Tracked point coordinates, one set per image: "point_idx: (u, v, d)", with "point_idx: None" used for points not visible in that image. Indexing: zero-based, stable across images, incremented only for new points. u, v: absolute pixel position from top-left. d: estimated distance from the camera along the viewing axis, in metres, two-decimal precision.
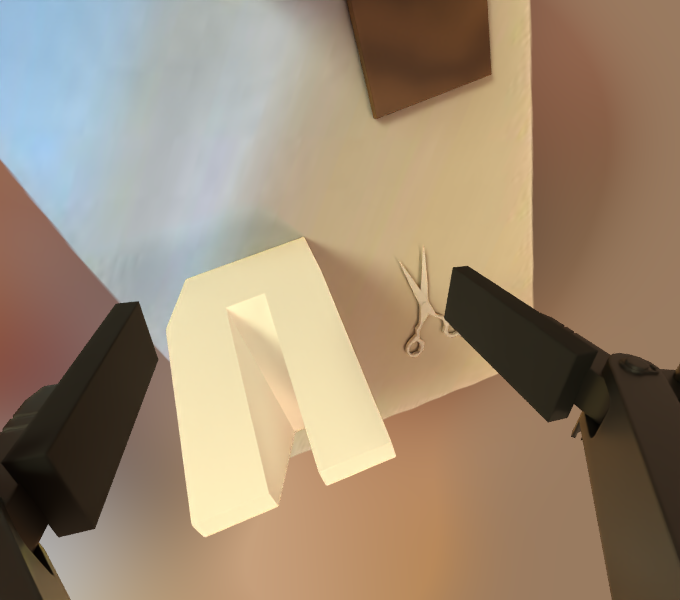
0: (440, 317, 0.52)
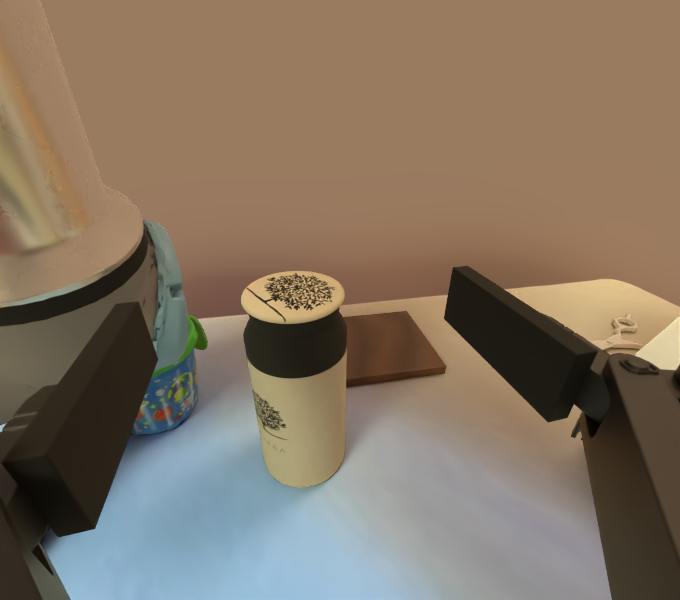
0: (618, 330, 0.50)
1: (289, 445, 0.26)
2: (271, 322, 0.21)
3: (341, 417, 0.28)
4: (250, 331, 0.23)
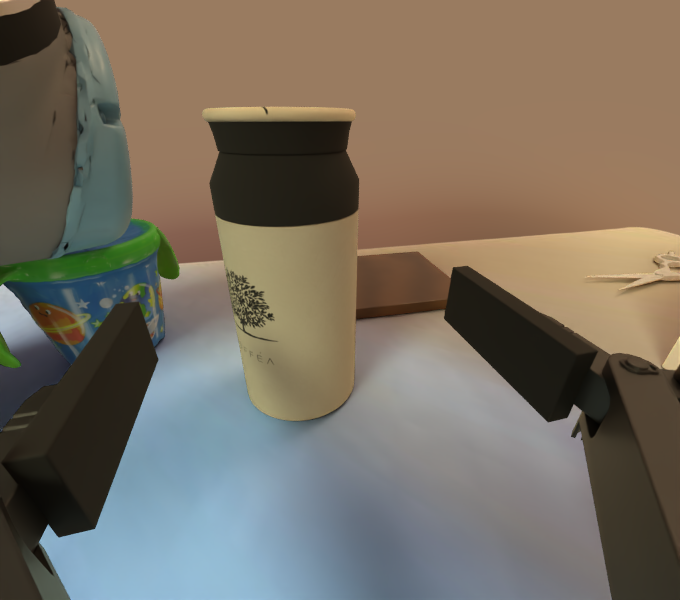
0: (665, 264, 0.43)
1: (279, 351, 0.19)
2: (245, 120, 0.14)
3: (351, 319, 0.20)
4: (218, 164, 0.16)
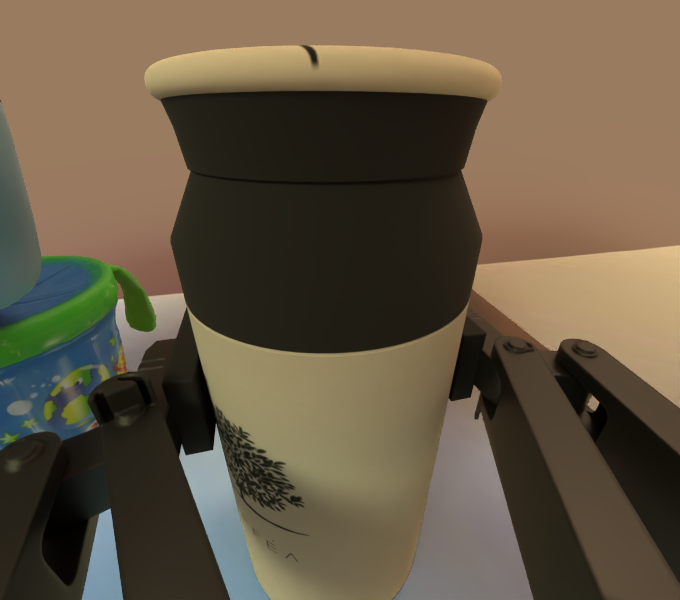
0: None
1: (309, 547, 0.10)
2: (250, 87, 0.05)
3: (434, 461, 0.11)
4: (186, 200, 0.07)
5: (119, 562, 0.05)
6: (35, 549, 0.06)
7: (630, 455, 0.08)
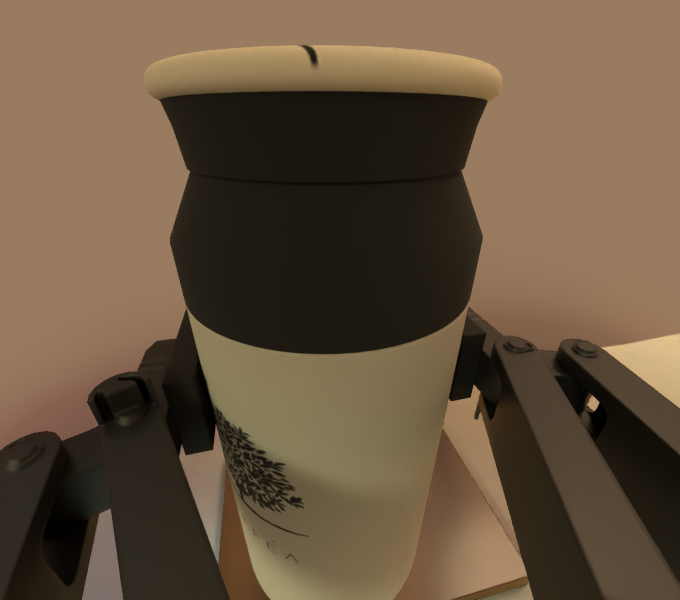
0: None
1: (309, 548, 0.10)
2: (249, 87, 0.05)
3: (434, 462, 0.11)
4: (186, 200, 0.07)
5: (119, 562, 0.05)
6: (35, 549, 0.06)
7: (630, 455, 0.08)
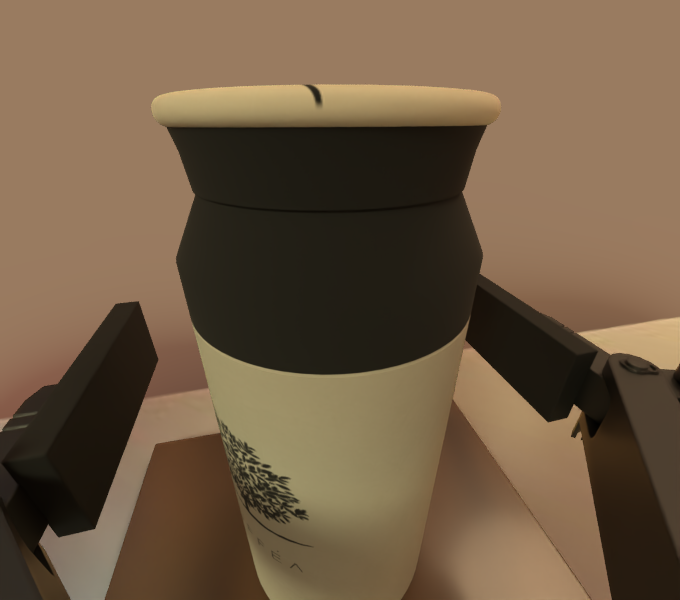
0: None
1: (314, 558, 0.10)
2: (255, 123, 0.05)
3: (436, 471, 0.12)
4: (192, 223, 0.07)
5: None
6: None
7: None
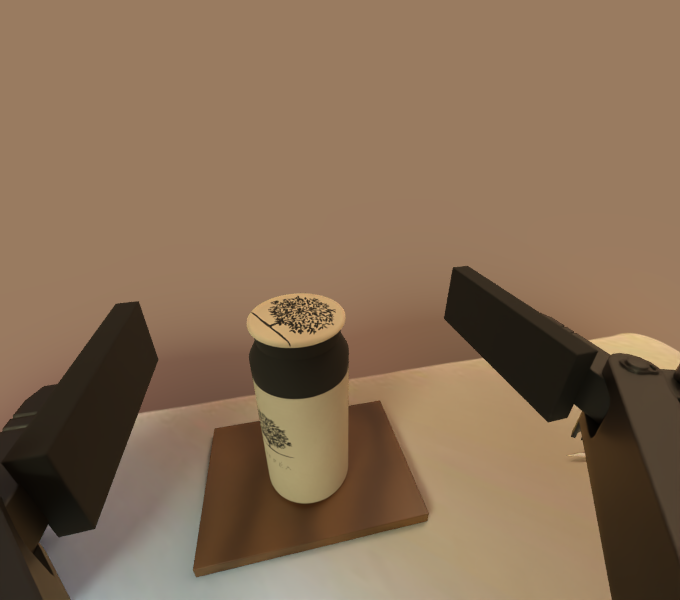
0: None
1: (294, 463, 0.27)
2: (276, 346, 0.22)
3: (344, 433, 0.29)
4: (256, 354, 0.24)
5: None
6: None
7: None
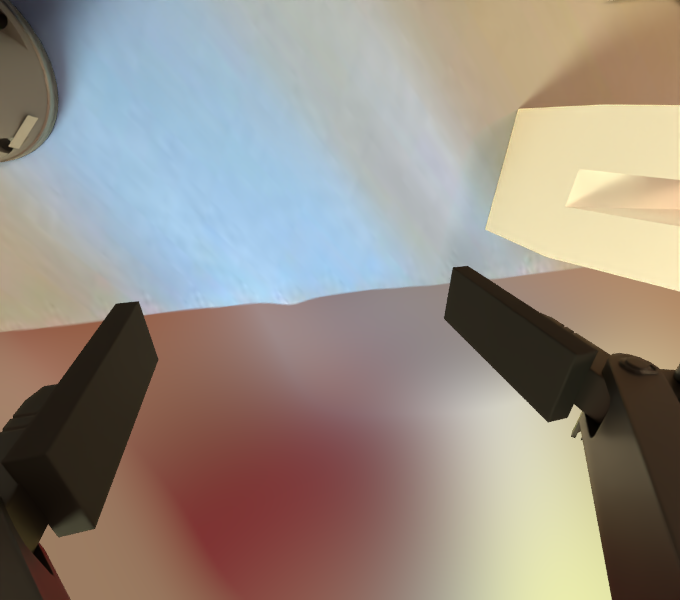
0: None
1: None
2: None
3: None
4: None
5: None
6: None
7: None
